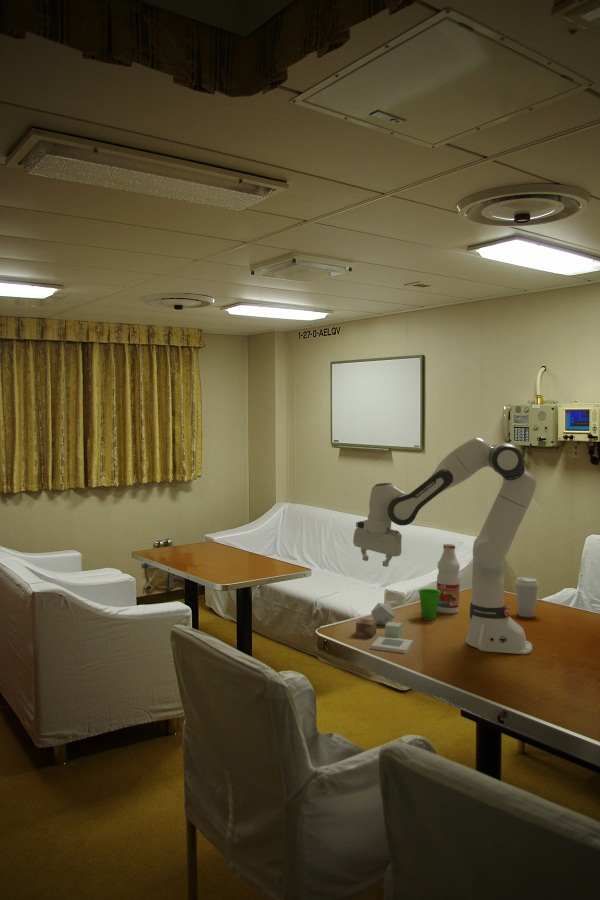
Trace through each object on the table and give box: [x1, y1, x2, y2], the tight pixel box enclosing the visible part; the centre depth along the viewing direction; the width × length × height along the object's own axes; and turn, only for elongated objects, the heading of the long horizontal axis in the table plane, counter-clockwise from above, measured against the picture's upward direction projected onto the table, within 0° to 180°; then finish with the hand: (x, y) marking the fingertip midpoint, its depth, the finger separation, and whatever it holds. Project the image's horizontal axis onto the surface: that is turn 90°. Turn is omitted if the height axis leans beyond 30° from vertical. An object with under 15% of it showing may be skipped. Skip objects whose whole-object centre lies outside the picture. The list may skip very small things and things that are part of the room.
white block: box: [370, 602, 396, 626], centre depth 262 cm, size 8×9×10 cm
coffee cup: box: [514, 576, 540, 618], centre depth 280 cm, size 10×10×15 cm
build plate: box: [370, 635, 414, 654], centre depth 234 cm, size 12×12×1 cm
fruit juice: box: [436, 543, 461, 615], centre depth 283 cm, size 9×9×28 cm
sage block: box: [384, 621, 403, 639], centre depth 244 cm, size 5×5×5 cm
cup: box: [418, 588, 441, 621], centre depth 271 cm, size 9×9×11 cm
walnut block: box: [355, 618, 377, 639], centre depth 247 cm, size 6×6×5 cm
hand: (375, 563), depth 248 cm, fingers open, 8 cm apart
